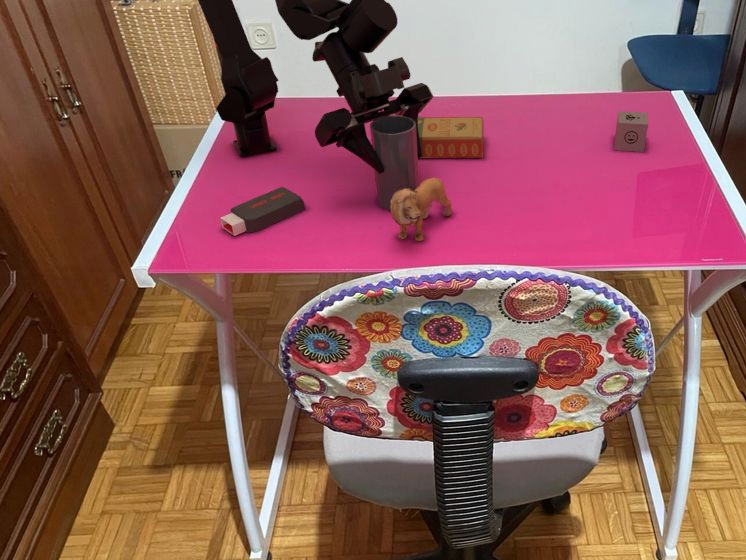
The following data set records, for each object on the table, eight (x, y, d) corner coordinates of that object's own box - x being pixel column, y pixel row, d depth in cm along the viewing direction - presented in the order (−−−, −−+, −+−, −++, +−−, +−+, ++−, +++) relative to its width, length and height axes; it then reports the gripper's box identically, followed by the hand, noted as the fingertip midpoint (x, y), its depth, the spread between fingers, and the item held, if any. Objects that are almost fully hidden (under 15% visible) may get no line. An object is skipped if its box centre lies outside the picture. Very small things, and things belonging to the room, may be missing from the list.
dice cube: (614, 137, 131) (618, 111, 127) (642, 139, 130) (647, 112, 127) (614, 150, 127) (618, 122, 124) (643, 151, 126) (648, 124, 123)
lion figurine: (419, 257, 102) (415, 201, 96) (385, 250, 103) (379, 194, 98) (457, 207, 112) (456, 154, 106) (426, 201, 114) (423, 148, 108)
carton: (482, 159, 125) (483, 136, 122) (390, 159, 125) (388, 135, 122) (483, 138, 131) (483, 115, 128) (395, 137, 131) (393, 115, 128)
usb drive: (305, 209, 112) (302, 193, 110) (238, 239, 106) (234, 223, 104) (286, 198, 115) (283, 182, 113) (219, 226, 109) (215, 210, 107)
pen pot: (371, 195, 115) (363, 120, 107) (410, 186, 118) (405, 112, 109) (386, 214, 111) (379, 138, 103) (426, 205, 113) (423, 128, 105)
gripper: (313, 57, 97) (368, 162, 97) (422, 27, 106) (472, 123, 107) (292, 97, 106) (343, 192, 107) (394, 67, 115) (440, 154, 116)
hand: (401, 164), depth 109 cm, fingers closed on pen pot, 7 cm apart
